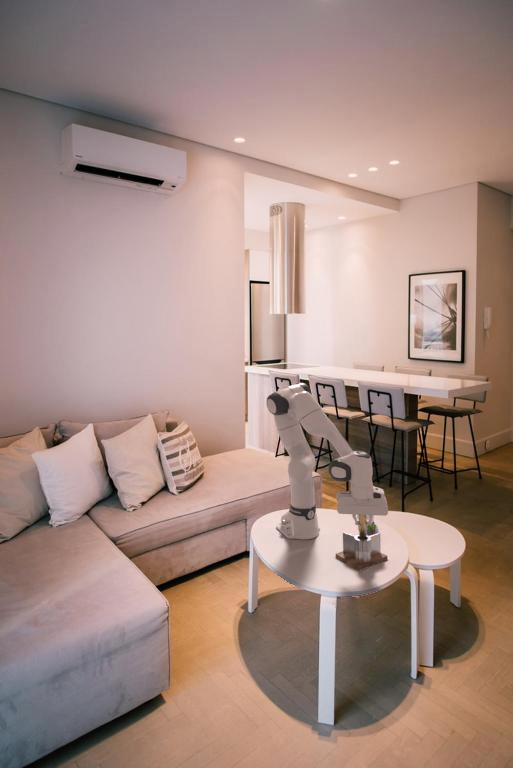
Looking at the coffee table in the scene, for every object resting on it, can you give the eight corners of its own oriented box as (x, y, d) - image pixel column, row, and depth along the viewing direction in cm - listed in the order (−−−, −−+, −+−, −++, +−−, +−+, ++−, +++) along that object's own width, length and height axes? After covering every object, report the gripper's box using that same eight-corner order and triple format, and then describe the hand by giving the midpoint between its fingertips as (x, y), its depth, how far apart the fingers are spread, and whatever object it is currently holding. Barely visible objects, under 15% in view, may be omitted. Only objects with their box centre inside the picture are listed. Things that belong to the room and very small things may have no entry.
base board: (335, 557, 197) (335, 553, 197) (363, 547, 205) (363, 543, 205) (359, 570, 185) (359, 566, 185) (387, 559, 193) (387, 555, 193)
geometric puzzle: (383, 536, 210) (378, 519, 214) (369, 538, 208) (364, 521, 212) (377, 540, 216) (371, 523, 220) (363, 542, 214) (358, 525, 218)
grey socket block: (340, 552, 198) (340, 531, 197) (363, 544, 205) (362, 524, 204) (362, 564, 187) (362, 542, 186) (385, 555, 194) (385, 534, 193)
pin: (357, 535, 191) (356, 506, 189) (363, 533, 192) (362, 505, 191) (362, 537, 188) (362, 508, 187) (368, 535, 190) (367, 507, 188)
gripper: (335, 493, 188) (336, 526, 189) (388, 494, 183) (388, 528, 184) (336, 488, 194) (337, 520, 195) (387, 489, 189) (387, 522, 190)
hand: (362, 524), depth 190 cm, fingers closed on pin, 3 cm apart
